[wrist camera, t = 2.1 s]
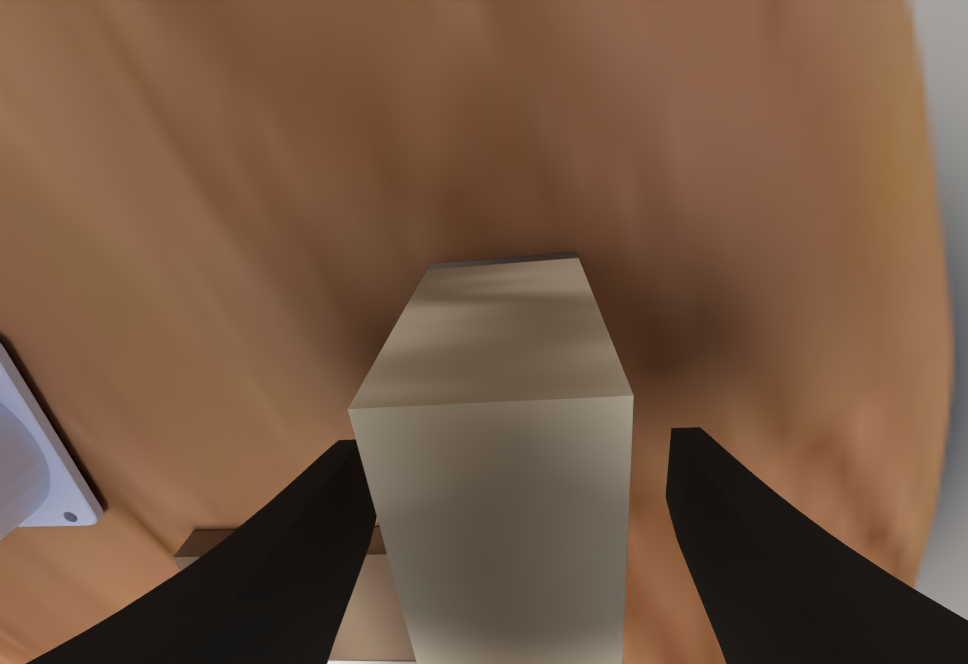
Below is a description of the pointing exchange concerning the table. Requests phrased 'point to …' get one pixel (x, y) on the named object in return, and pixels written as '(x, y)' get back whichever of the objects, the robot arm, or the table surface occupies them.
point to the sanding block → (502, 464)
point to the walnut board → (370, 612)
